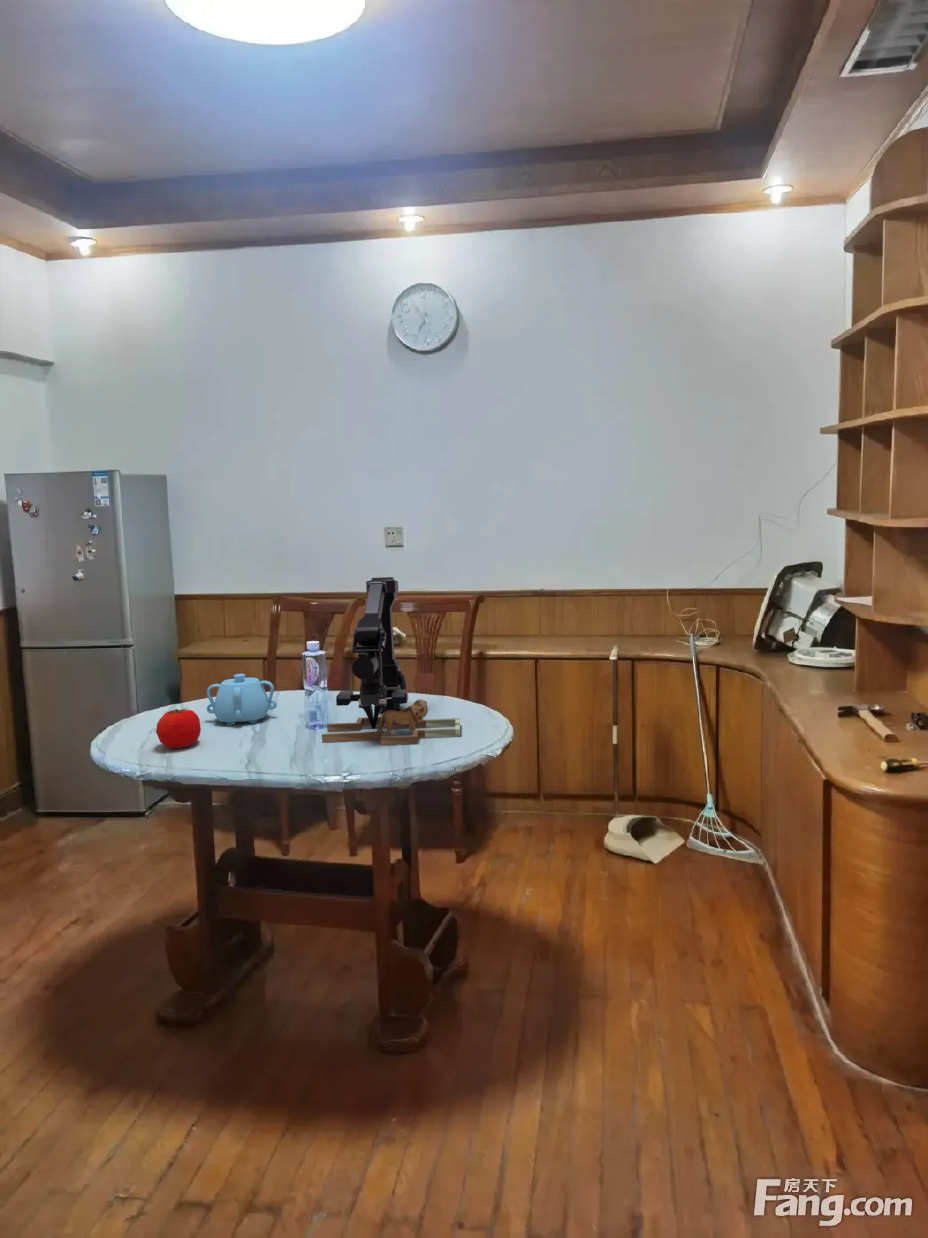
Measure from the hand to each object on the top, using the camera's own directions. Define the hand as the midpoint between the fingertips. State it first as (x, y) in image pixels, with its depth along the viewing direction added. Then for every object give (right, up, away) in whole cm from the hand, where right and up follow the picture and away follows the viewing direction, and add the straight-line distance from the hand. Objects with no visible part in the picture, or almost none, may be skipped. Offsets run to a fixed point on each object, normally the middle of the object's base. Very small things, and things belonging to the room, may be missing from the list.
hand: (373, 728), depth 250 cm
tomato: (-51, -4, -3) cm, 51 cm away
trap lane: (+5, -1, 0) cm, 5 cm away
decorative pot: (-40, 0, +22) cm, 46 cm away
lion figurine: (+8, -2, 0) cm, 8 cm away
